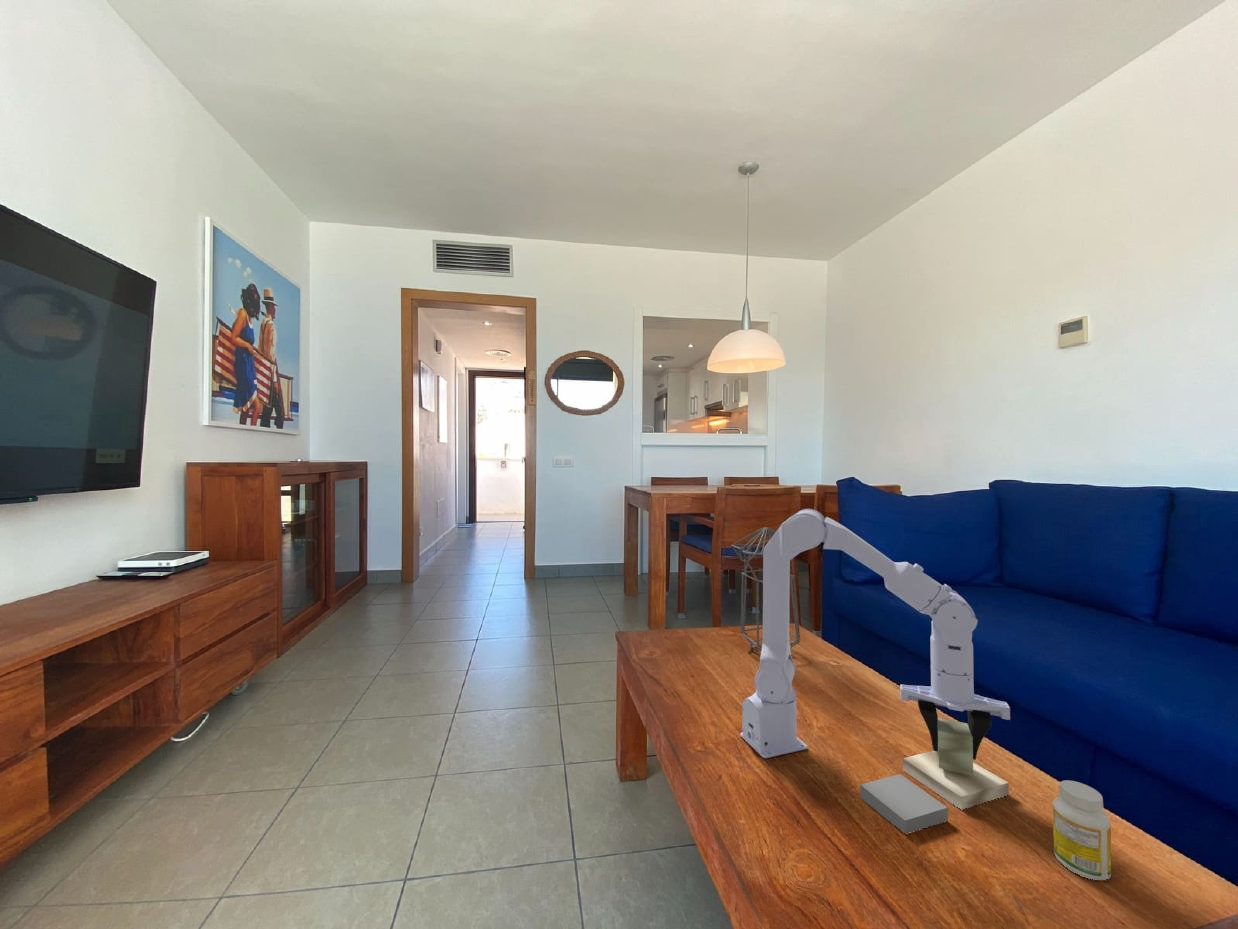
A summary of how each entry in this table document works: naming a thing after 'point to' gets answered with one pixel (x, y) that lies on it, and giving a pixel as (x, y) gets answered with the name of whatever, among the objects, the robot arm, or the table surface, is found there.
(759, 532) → the geometric lantern
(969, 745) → the sage green block
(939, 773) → the pale ash block
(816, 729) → the table surface
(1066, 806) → the supplement bottle
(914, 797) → the slate grey block
